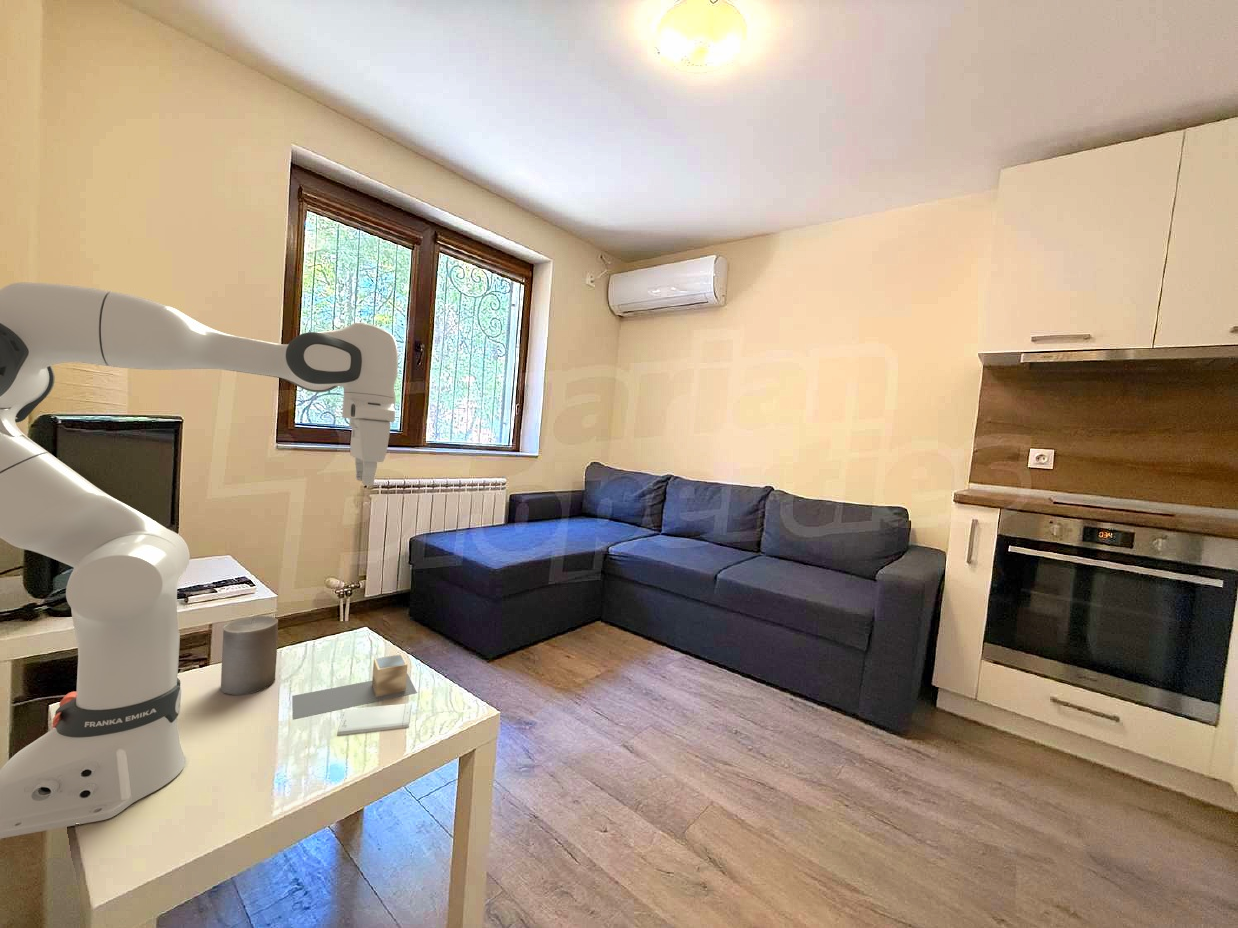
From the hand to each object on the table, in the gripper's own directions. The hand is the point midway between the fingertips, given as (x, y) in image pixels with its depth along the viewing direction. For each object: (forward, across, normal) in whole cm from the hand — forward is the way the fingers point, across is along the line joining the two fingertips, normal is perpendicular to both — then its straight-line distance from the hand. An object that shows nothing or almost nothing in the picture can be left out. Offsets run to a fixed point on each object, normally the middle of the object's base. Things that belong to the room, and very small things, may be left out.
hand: (364, 482), depth 91 cm
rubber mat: (+48, -12, +3) cm, 50 cm away
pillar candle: (+48, -27, -17) cm, 58 cm away
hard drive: (+49, 0, +5) cm, 49 cm away
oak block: (+48, -12, +9) cm, 50 cm away
